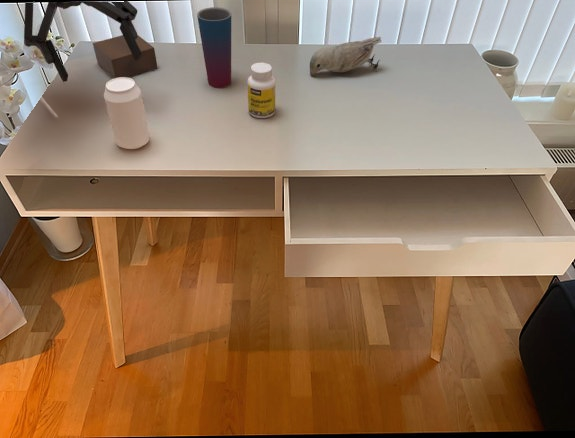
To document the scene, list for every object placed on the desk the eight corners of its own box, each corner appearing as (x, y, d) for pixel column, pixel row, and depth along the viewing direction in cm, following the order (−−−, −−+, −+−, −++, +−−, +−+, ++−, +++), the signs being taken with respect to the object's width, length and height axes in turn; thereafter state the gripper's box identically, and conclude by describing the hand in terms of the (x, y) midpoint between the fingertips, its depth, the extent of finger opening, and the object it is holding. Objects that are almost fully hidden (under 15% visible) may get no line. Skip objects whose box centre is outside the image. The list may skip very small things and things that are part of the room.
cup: (202, 89, 109) (194, 20, 99) (206, 74, 114) (199, 6, 104) (234, 90, 109) (229, 21, 99) (236, 75, 114) (232, 7, 104)
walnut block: (116, 81, 111) (111, 59, 108) (97, 64, 117) (92, 43, 114) (157, 68, 116) (154, 47, 113) (138, 52, 122) (134, 32, 118)
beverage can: (124, 131, 98) (110, 73, 89) (155, 135, 97) (144, 77, 89) (110, 150, 93) (94, 91, 85) (143, 154, 92) (130, 95, 84)
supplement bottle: (247, 118, 102) (245, 73, 95) (249, 104, 105) (248, 59, 99) (274, 119, 101) (274, 74, 95) (276, 105, 105) (276, 60, 99)
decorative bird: (306, 70, 117) (307, 38, 112) (371, 63, 120) (376, 32, 115) (313, 81, 113) (315, 49, 108) (380, 74, 116) (385, 42, 111)
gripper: (112, -46, 98) (161, 57, 100) (-27, -20, 86) (32, 96, 88) (118, -71, 91) (171, 40, 93) (-32, -46, 80) (32, 80, 82)
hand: (103, 67), depth 91 cm, fingers open, 13 cm apart
